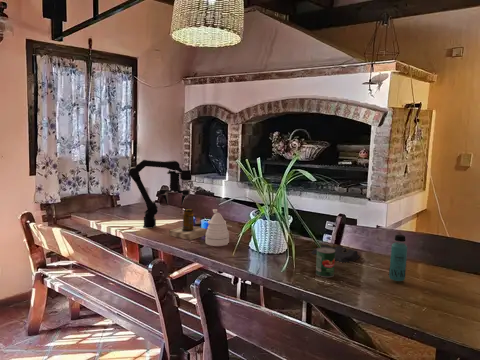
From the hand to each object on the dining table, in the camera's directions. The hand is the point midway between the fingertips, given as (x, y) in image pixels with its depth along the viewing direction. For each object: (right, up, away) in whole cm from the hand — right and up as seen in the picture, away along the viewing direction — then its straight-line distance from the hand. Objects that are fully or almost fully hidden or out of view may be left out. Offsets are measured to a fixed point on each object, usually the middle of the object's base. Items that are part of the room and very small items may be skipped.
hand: (174, 205), depth 264 cm
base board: (+12, -16, -21) cm, 29 cm away
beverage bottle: (+107, -27, -89) cm, 142 cm away
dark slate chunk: (+89, -23, -55) cm, 107 cm away
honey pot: (+29, -19, -36) cm, 49 cm away
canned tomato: (+78, -25, -82) cm, 116 cm away
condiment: (+11, -13, -22) cm, 28 cm away
